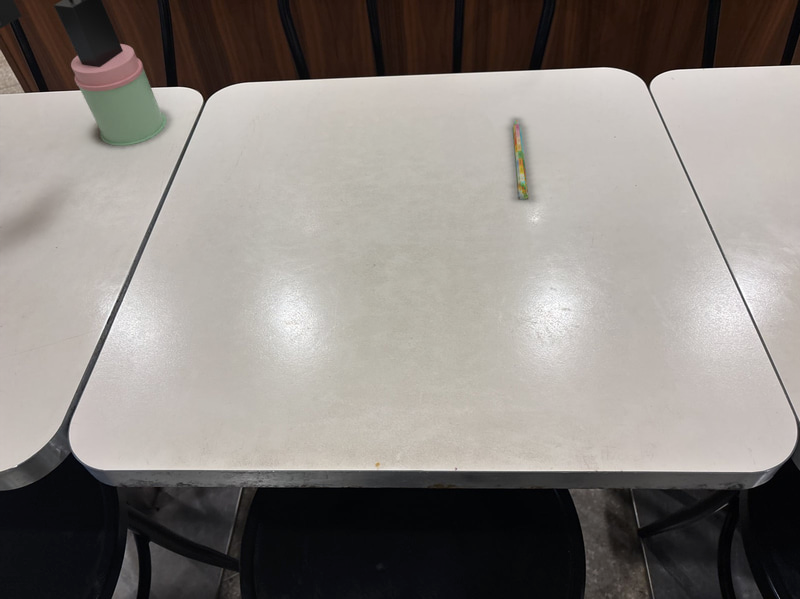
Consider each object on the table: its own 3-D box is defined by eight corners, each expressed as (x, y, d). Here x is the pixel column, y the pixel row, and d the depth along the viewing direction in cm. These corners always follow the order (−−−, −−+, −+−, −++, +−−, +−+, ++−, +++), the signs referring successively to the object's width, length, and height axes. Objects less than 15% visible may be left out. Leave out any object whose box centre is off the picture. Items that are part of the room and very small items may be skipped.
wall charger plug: (81, 64, 82) (44, -13, 74) (105, 48, 85) (72, -28, 77) (99, 67, 81) (64, -11, 74) (123, 50, 84) (91, -26, 77)
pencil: (511, 122, 87) (517, 200, 75) (511, 115, 86) (518, 193, 74) (520, 122, 86) (528, 200, 75) (521, 115, 86) (529, 193, 74)
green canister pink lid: (89, 145, 89) (51, 73, 81) (122, 110, 96) (90, 40, 87) (148, 150, 88) (116, 77, 79) (178, 113, 94) (151, 42, 85)
